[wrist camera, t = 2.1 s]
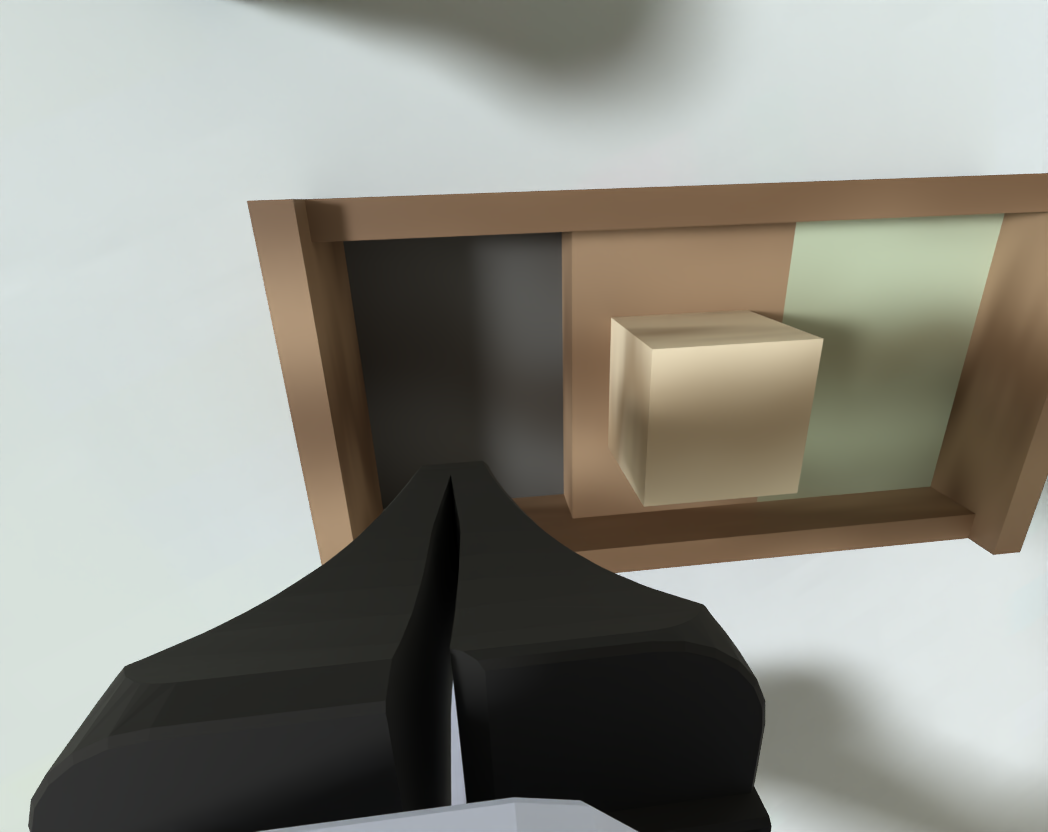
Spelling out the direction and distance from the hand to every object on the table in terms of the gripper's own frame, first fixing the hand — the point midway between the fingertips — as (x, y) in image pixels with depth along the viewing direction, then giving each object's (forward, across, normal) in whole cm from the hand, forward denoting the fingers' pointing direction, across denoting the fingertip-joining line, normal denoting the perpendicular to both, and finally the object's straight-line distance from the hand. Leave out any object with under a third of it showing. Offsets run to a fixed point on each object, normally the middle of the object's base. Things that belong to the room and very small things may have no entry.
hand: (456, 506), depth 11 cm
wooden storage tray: (+9, -7, 0) cm, 12 cm away
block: (+7, -7, 0) cm, 10 cm away
